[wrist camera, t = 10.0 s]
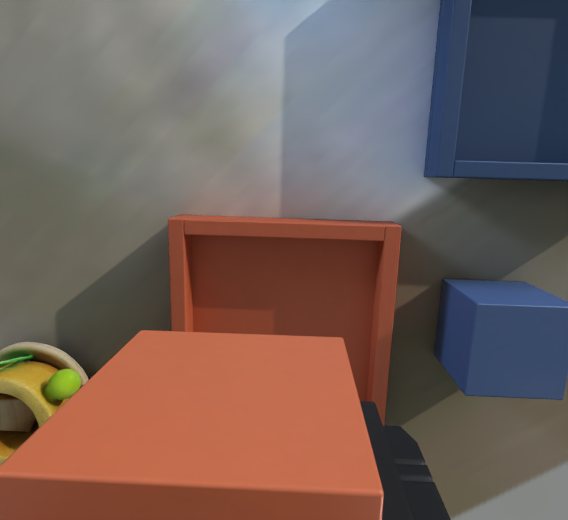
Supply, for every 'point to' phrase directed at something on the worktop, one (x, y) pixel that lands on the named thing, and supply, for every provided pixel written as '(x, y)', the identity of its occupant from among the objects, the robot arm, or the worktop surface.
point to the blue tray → (500, 91)
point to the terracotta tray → (291, 284)
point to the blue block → (503, 339)
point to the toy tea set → (33, 389)
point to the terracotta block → (203, 436)
